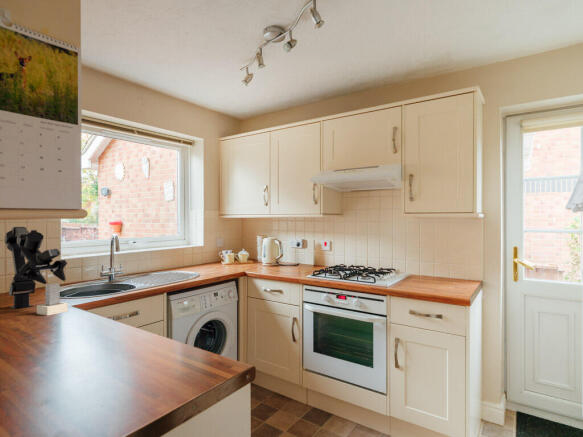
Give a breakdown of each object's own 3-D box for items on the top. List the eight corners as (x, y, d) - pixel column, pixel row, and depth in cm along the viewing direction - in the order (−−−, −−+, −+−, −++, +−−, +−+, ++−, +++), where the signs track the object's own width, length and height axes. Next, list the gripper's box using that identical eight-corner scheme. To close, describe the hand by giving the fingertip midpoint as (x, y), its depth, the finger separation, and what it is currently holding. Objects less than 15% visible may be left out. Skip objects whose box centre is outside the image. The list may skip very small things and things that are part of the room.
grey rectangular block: (43, 313, 142) (43, 284, 143) (54, 310, 146) (55, 283, 147) (49, 314, 141) (50, 285, 141) (61, 311, 145) (61, 283, 145)
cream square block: (36, 313, 142) (36, 305, 142) (57, 309, 149) (57, 301, 149) (47, 315, 138) (47, 306, 138) (67, 311, 145) (67, 303, 145)
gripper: (24, 243, 136) (47, 270, 134) (64, 242, 155) (84, 266, 152) (8, 263, 137) (30, 290, 135) (49, 259, 156) (69, 283, 153)
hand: (55, 281), depth 144 cm, fingers open, 9 cm apart
